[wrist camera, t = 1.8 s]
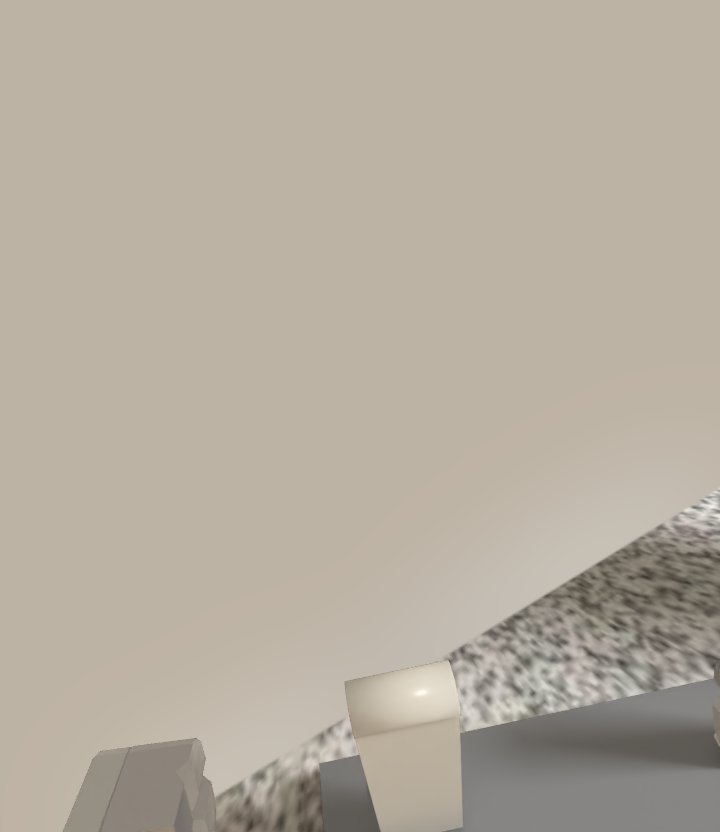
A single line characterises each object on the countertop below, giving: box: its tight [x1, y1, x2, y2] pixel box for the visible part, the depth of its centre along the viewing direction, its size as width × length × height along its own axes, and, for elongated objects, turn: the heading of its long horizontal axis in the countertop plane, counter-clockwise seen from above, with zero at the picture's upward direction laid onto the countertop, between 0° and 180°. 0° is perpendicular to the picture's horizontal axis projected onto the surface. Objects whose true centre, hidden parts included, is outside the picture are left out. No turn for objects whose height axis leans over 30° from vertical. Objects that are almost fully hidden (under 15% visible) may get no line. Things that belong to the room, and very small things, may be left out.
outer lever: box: [345, 660, 463, 832], centre depth 29 cm, size 4×2×14 cm, turn 96°
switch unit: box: [319, 679, 720, 832], centre depth 34 cm, size 28×10×3 cm, turn 96°
